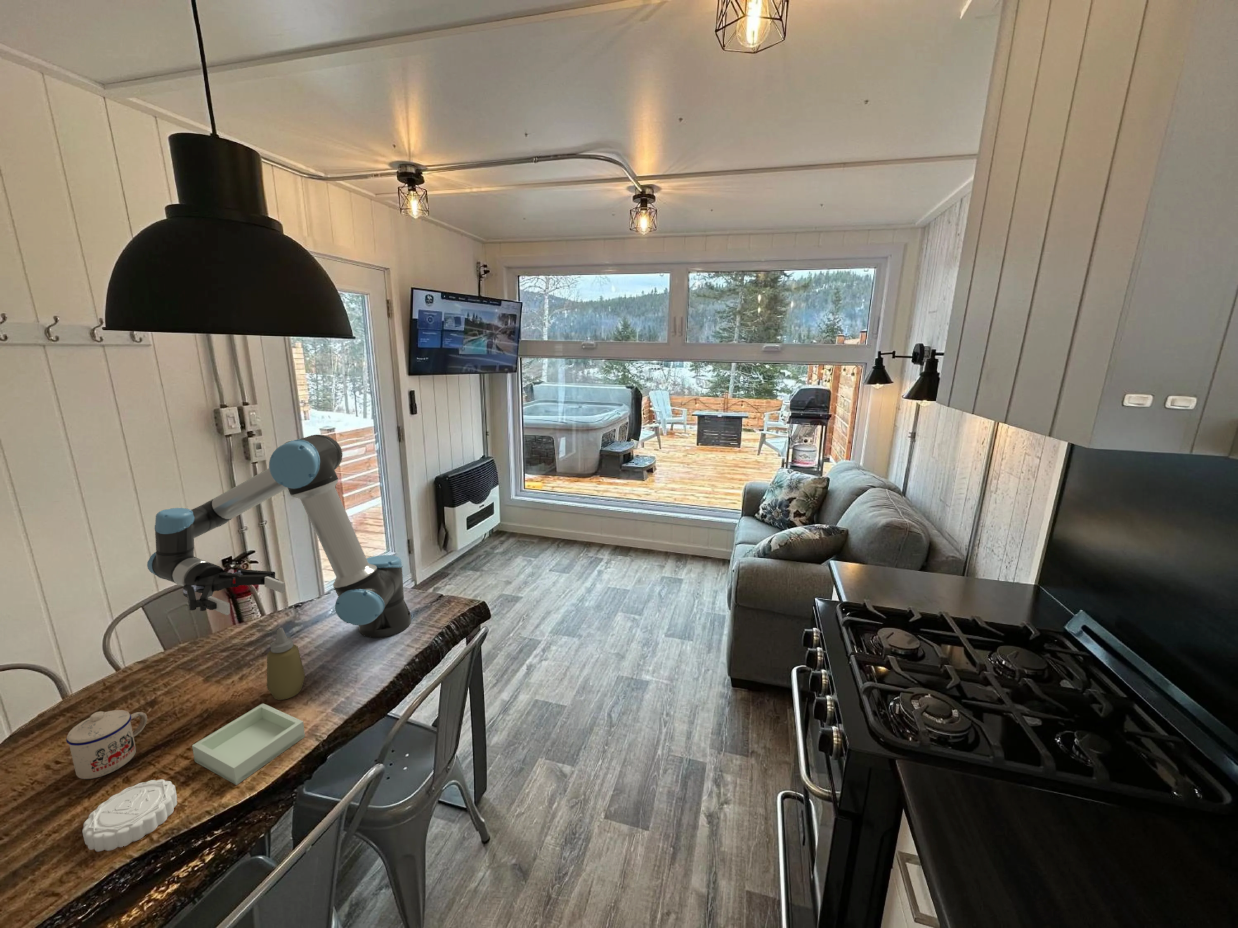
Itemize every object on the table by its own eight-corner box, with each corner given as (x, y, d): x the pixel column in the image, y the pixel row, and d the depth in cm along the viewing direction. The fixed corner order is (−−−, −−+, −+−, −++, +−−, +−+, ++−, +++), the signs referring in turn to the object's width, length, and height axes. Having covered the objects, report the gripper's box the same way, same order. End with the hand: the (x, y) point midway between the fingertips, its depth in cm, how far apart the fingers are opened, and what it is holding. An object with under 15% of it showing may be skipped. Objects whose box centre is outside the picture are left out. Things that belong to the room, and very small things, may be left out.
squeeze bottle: (260, 698, 120) (251, 633, 116) (291, 679, 127) (284, 617, 123) (283, 707, 117) (274, 640, 113) (313, 687, 124) (307, 624, 121)
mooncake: (194, 793, 94) (192, 778, 93) (131, 854, 82) (127, 837, 81) (135, 789, 94) (132, 774, 93) (64, 850, 82) (59, 833, 82)
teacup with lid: (94, 785, 94) (82, 734, 92) (62, 774, 96) (51, 724, 94) (164, 741, 106) (156, 694, 103) (135, 732, 108) (126, 686, 106)
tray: (264, 717, 113) (262, 703, 112) (305, 736, 108) (303, 721, 107) (194, 761, 101) (191, 745, 100) (236, 784, 95) (233, 767, 95)
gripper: (249, 572, 139) (303, 592, 133) (141, 608, 116) (201, 634, 110) (249, 548, 138) (304, 567, 132) (140, 579, 114) (200, 604, 108)
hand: (257, 598), depth 121 cm, fingers open, 13 cm apart
